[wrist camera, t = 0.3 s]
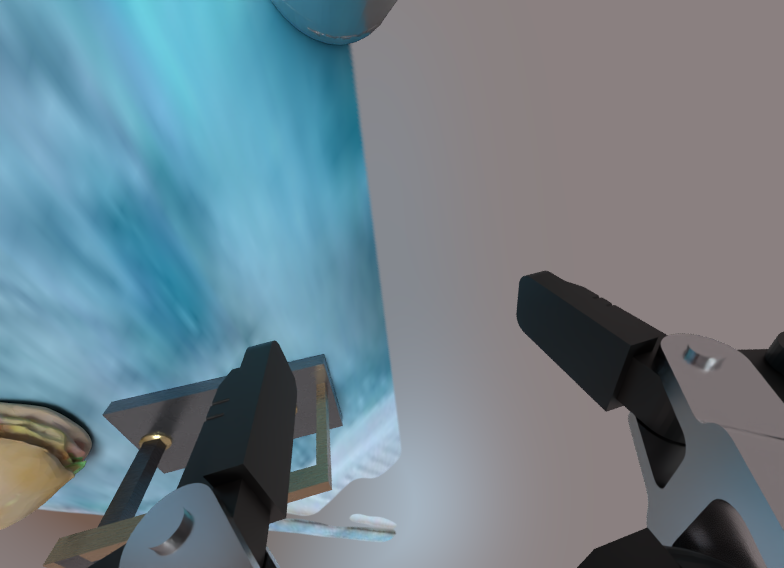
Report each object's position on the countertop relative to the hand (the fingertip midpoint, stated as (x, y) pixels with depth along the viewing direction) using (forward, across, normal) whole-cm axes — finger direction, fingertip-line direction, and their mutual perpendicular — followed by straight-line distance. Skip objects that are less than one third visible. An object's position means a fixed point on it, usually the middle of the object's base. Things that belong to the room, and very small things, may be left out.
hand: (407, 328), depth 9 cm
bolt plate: (+19, +18, +21) cm, 34 cm away
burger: (+19, +39, +16) cm, 46 cm away
